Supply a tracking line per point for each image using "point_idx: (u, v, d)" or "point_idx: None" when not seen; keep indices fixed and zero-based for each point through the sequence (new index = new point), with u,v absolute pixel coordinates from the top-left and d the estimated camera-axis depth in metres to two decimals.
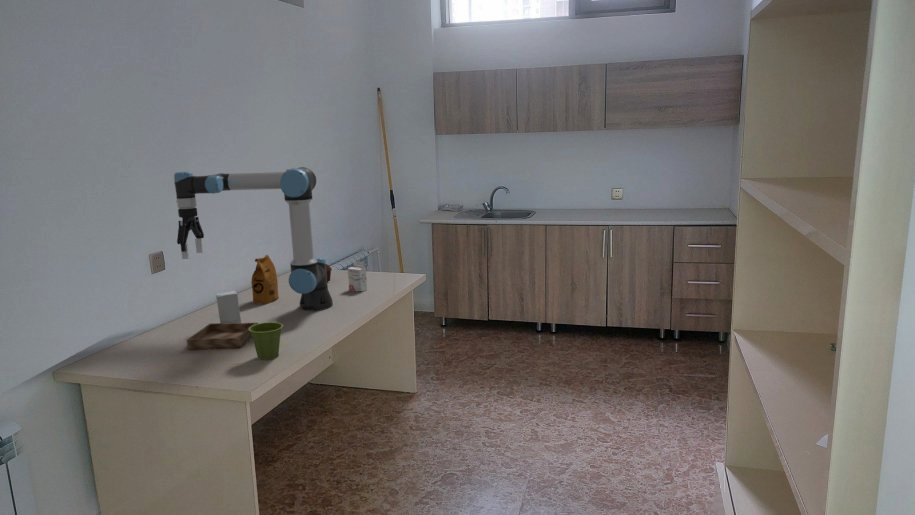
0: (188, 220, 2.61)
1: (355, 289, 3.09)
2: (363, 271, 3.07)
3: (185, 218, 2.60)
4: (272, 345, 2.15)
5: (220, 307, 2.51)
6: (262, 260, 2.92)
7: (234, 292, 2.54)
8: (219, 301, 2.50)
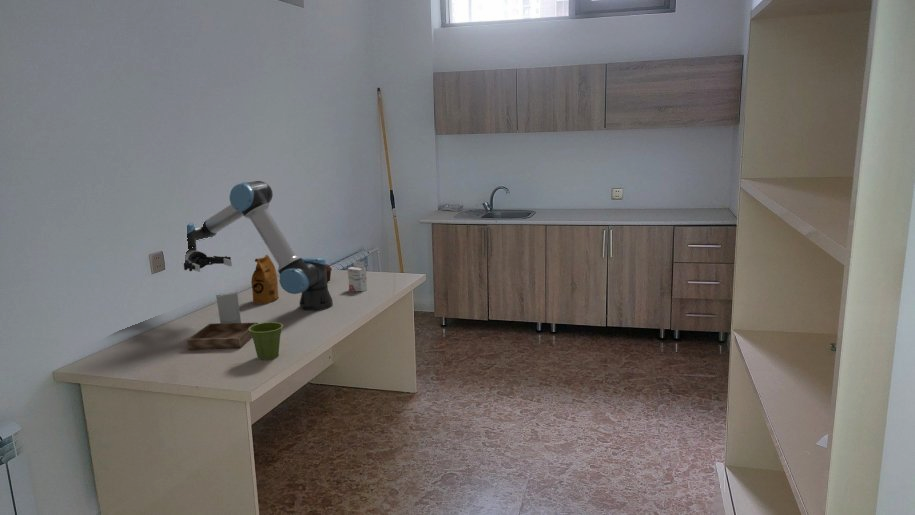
0: (194, 259, 2.68)
1: (355, 289, 3.09)
2: (363, 271, 3.07)
3: (191, 260, 2.68)
4: (272, 345, 2.15)
5: (220, 307, 2.51)
6: (262, 260, 2.92)
7: (234, 292, 2.54)
8: (219, 301, 2.50)
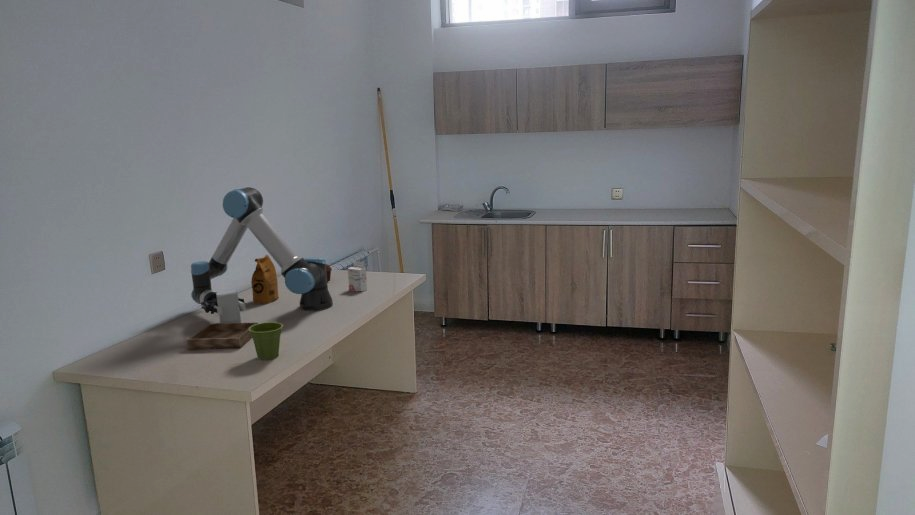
0: (210, 300, 2.62)
1: (355, 289, 3.09)
2: (363, 271, 3.07)
3: (206, 302, 2.62)
4: (272, 345, 2.15)
5: (220, 307, 2.51)
6: (262, 260, 2.92)
7: (234, 292, 2.54)
8: (219, 301, 2.50)
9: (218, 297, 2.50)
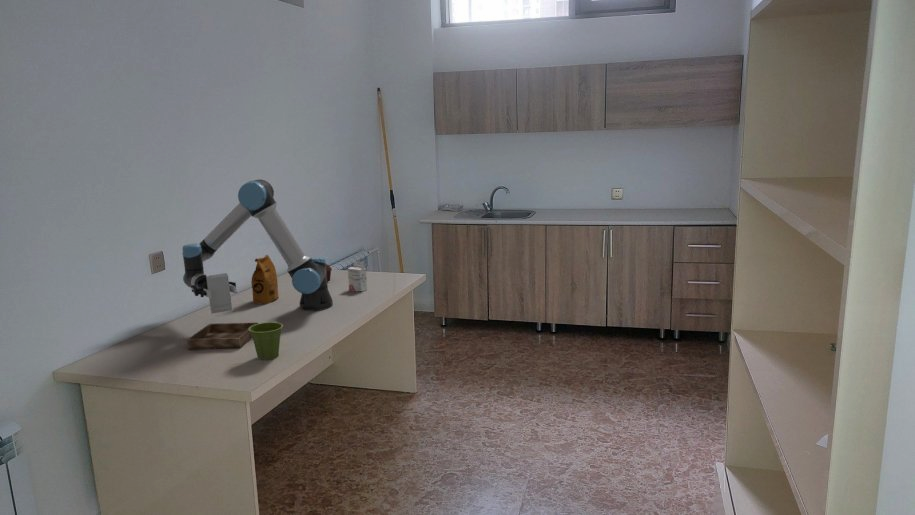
0: (200, 283, 2.52)
1: (355, 289, 3.09)
2: (363, 271, 3.07)
3: (196, 285, 2.52)
4: (272, 345, 2.15)
5: (210, 289, 2.40)
6: (262, 260, 2.92)
7: (225, 275, 2.43)
8: (209, 283, 2.40)
9: (208, 279, 2.39)
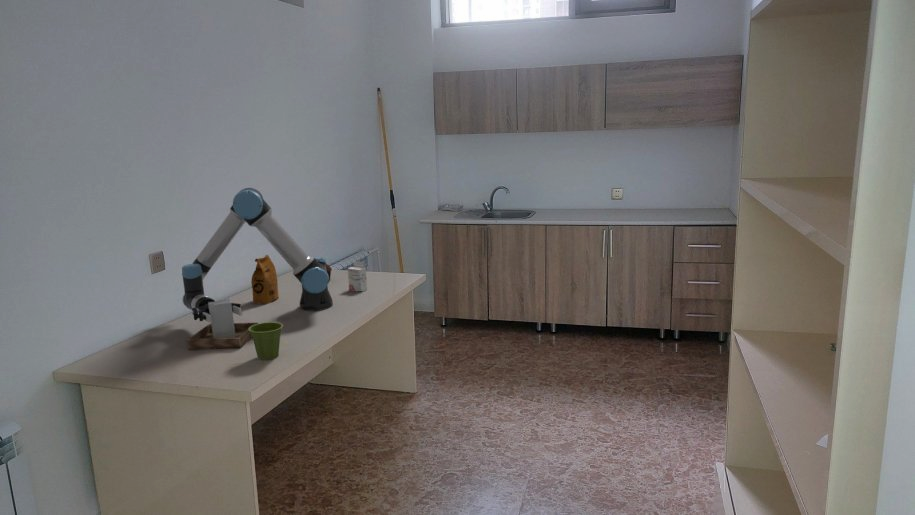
0: (202, 306, 2.44)
1: (355, 289, 3.09)
2: (363, 271, 3.07)
3: (198, 308, 2.44)
4: (272, 345, 2.15)
5: (213, 317, 2.32)
6: (262, 260, 2.92)
7: (228, 301, 2.36)
8: (211, 311, 2.32)
9: (210, 307, 2.31)
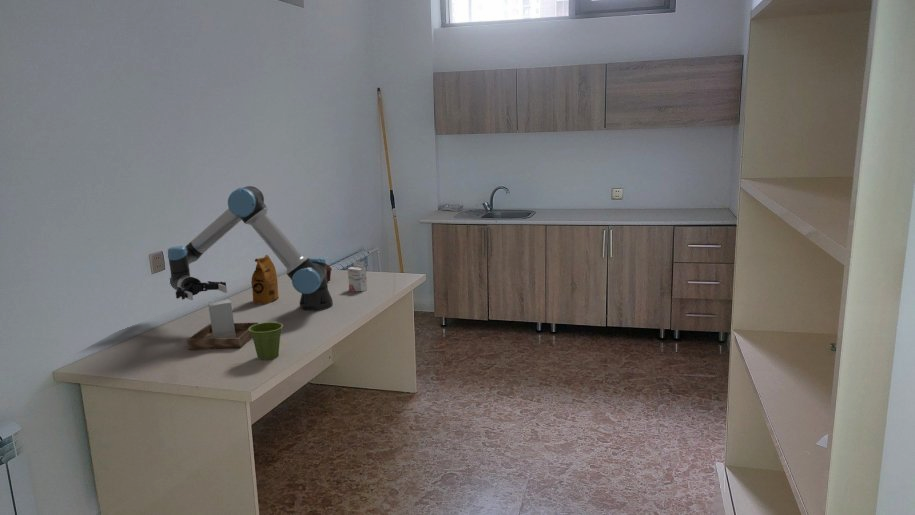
0: (187, 285, 2.52)
1: (355, 289, 3.09)
2: (363, 271, 3.07)
3: (184, 287, 2.52)
4: (272, 345, 2.15)
5: (213, 317, 2.32)
6: (262, 260, 2.92)
7: (228, 301, 2.36)
8: (211, 311, 2.32)
9: (210, 307, 2.31)
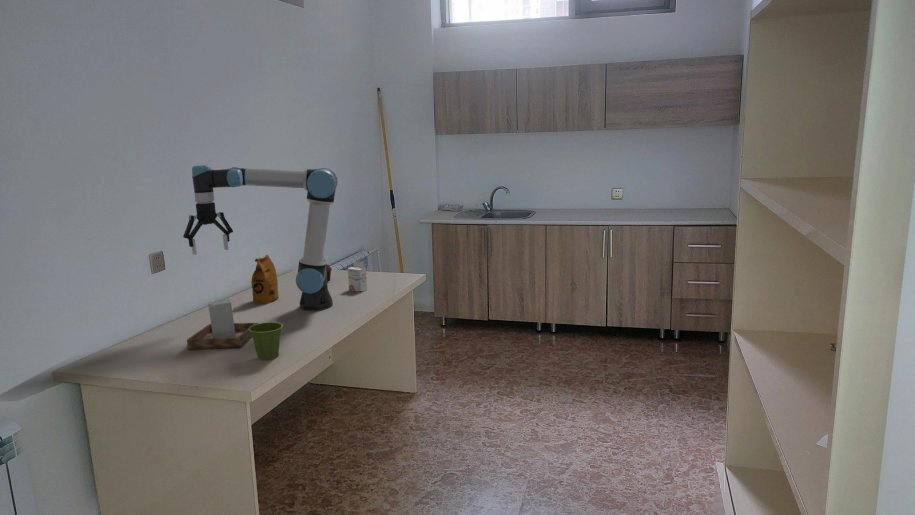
0: (201, 215, 2.54)
1: (355, 289, 3.09)
2: (363, 271, 3.07)
3: (197, 213, 2.53)
4: (272, 345, 2.15)
5: (213, 317, 2.32)
6: (262, 260, 2.92)
7: (228, 301, 2.36)
8: (211, 311, 2.32)
9: (210, 307, 2.31)
